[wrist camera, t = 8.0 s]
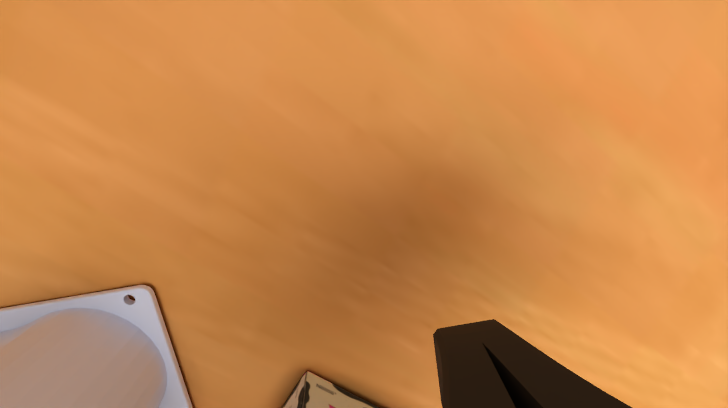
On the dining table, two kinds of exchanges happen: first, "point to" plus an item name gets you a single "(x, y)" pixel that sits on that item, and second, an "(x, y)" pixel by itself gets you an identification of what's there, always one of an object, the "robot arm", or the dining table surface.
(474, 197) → the dining table surface
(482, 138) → the dining table surface
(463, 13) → the dining table surface
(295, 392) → the candy bar box
